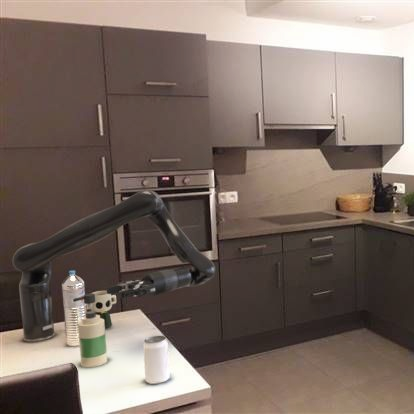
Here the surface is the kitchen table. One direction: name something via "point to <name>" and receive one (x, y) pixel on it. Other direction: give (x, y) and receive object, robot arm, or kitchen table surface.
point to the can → (156, 359)
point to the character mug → (103, 306)
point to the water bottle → (73, 307)
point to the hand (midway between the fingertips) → (113, 293)
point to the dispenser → (92, 340)
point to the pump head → (87, 299)
